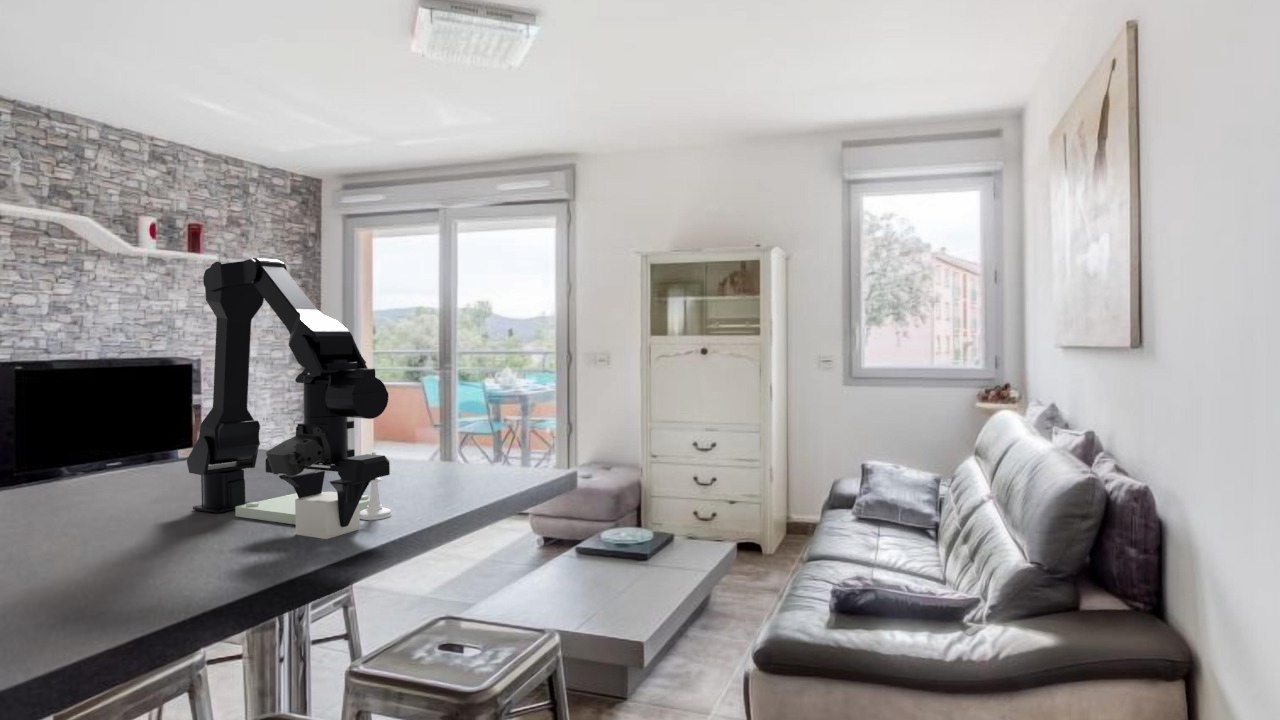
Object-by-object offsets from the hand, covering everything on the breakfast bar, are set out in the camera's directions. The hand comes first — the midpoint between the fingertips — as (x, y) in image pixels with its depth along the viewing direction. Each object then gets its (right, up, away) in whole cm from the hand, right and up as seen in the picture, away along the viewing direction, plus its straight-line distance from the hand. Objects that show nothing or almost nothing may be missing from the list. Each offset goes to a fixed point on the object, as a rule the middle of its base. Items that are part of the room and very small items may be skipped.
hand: (328, 524), depth 110 cm
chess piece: (+3, -1, +9) cm, 10 cm away
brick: (0, -1, 0) cm, 1 cm away
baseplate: (-8, -1, +13) cm, 15 cm away
